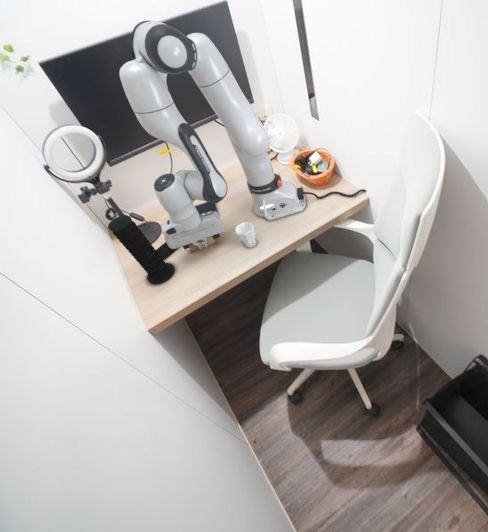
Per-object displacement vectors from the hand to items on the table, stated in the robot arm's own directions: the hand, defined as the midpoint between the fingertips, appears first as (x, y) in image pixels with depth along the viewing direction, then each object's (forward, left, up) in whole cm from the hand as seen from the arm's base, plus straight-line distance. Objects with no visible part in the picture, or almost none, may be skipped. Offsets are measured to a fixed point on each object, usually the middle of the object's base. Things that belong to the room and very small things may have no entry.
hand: (203, 246), depth 121 cm
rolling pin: (+1, -3, -3) cm, 4 cm away
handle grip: (+16, +8, -3) cm, 18 cm away
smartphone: (+18, -3, -3) cm, 18 cm away
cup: (-16, -1, -3) cm, 16 cm away
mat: (+7, -24, -3) cm, 26 cm away
